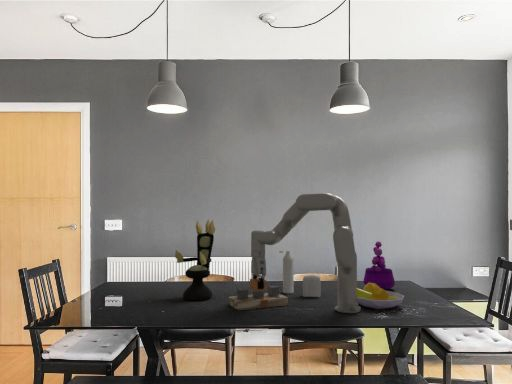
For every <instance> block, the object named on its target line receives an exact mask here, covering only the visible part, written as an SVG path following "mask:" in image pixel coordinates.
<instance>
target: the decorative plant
mask: <svg viewBox="0 0 512 384" xmlns="http://www.w3.org/2000/svg"><path fill="white" fill-rule="evenodd" d="M381 247H382V242H381V241H375V247H373V249H372V250H373V253H374V255H375V256H373V257H372V260H371V263H372V265H371V266H370V267H367V268H365V272H364V277H363V285H364V286H365V285H366V284H368V283H369V282H370V283H375V284H376V285H378V286H379V287H380V288H382V289H384V290H385V291H388V290H390V289H392V288H394V287H395V284H396V282H395V281H396V280H395V277H394V273H393V269H391V268H387V266H386V261H385V257H384V256H382V254H383V250H382V248H381Z"/></svg>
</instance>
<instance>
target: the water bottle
mask: <svg viewBox="0 0 512 384" xmlns="http://www.w3.org/2000/svg"><path fill="white" fill-rule="evenodd" d="M280 253H281V254H282V253H284V250H279V254H280ZM294 267H295V266H294V258H293V256H292V254H291V251H290V250H287V251H286V252H285V254H284V256H283V257H282V293H283V294H293V293H294V289H295V288H294V287H295V285H294V281H295V280H294V277H295V275H294V273H295V272H294Z"/></svg>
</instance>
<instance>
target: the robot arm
mask: <svg viewBox="0 0 512 384" xmlns="http://www.w3.org/2000/svg"><path fill="white" fill-rule="evenodd" d="M347 205H348V204H347V203H346V201H344V199H342V198H341V197H340V196H339V195H338V196H337V195H336V194H333V193H329V192H321V193H303V194H300V195H298V196H297V198H296V200H295V202H294V203H293V204H292V205H291V206H290V207H289V208H288V209H287V210H286V211H285V212H284V213H283V216H282V218H281V220H280V221H279V222H278V223H277V224H276V226H274V227H273V228H272V229H271V230H268V231H264V230H253V231H251V232H250V233H251V235H250V238H251V239H250V245H251V246H250V257H251V263H250V264H251V265H250V271H251V276H252V277H251V279H256V278H258V280H259V281H258V289H264V279H265V277H266V276H267V262H266V245H267V246H274V245H277V244H278V243H280V242H281V241H282V240H283V239H284V238H285V237H286V236H287V235H288V234H289V233H290V232H291V230H293V228H296V226H297V224H299V222H300V221H301V220H302V219H304V218H305V216H307V214H308V213H309V212H313V211H315V212H317V211H330V212H331V216H332V221H333V229H334V231H333V233H332V240H333V246H334V247H333V248H334V253H335V260H336V263H337V305H336V306H334V311H336V312H337V313H342V314H358V313H360V312H361V306H359V303H357V288H358V256H357V252H356V249H355V248H356V247H355V242H354V232H353V228H352V222H351V217H350V211H349V207H348V206H347Z"/></svg>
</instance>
